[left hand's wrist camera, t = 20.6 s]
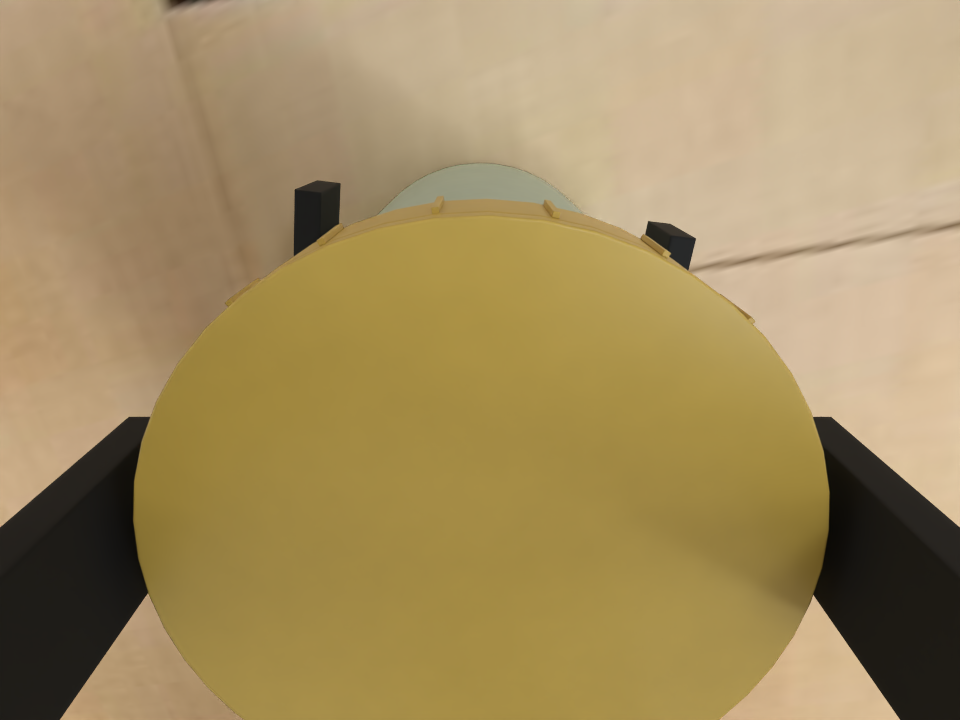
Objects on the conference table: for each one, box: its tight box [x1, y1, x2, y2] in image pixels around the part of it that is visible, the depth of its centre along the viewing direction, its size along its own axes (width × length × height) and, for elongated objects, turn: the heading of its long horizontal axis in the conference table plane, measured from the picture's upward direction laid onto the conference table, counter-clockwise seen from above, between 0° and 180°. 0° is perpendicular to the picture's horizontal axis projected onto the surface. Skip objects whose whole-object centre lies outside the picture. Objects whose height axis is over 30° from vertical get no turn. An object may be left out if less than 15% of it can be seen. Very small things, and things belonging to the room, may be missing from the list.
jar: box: [378, 163, 584, 215], centre depth 19 cm, size 10×10×17 cm
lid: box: [133, 196, 829, 720], centre depth 11 cm, size 11×11×2 cm
